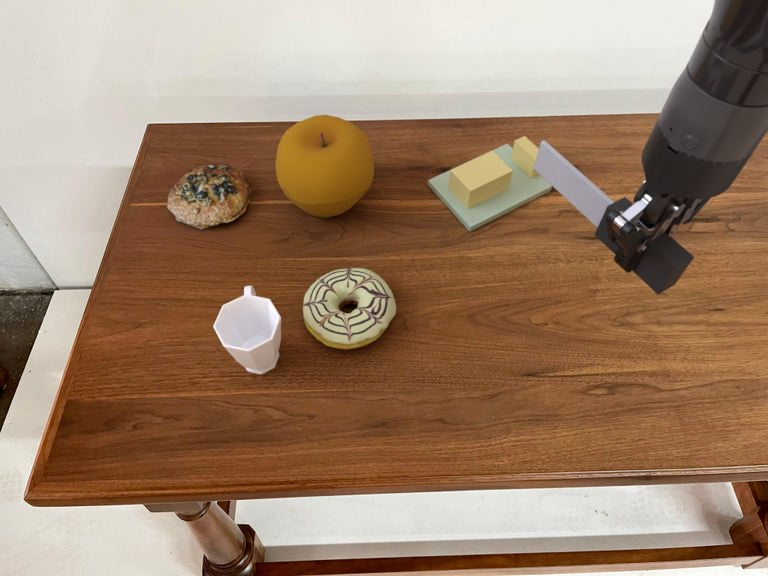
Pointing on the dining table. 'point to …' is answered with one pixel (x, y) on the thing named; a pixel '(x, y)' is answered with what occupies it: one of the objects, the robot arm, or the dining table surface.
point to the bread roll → (209, 196)
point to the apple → (324, 165)
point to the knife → (660, 257)
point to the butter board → (498, 205)
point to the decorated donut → (346, 289)
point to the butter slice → (525, 155)
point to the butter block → (480, 179)
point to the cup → (250, 331)
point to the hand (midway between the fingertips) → (633, 259)
